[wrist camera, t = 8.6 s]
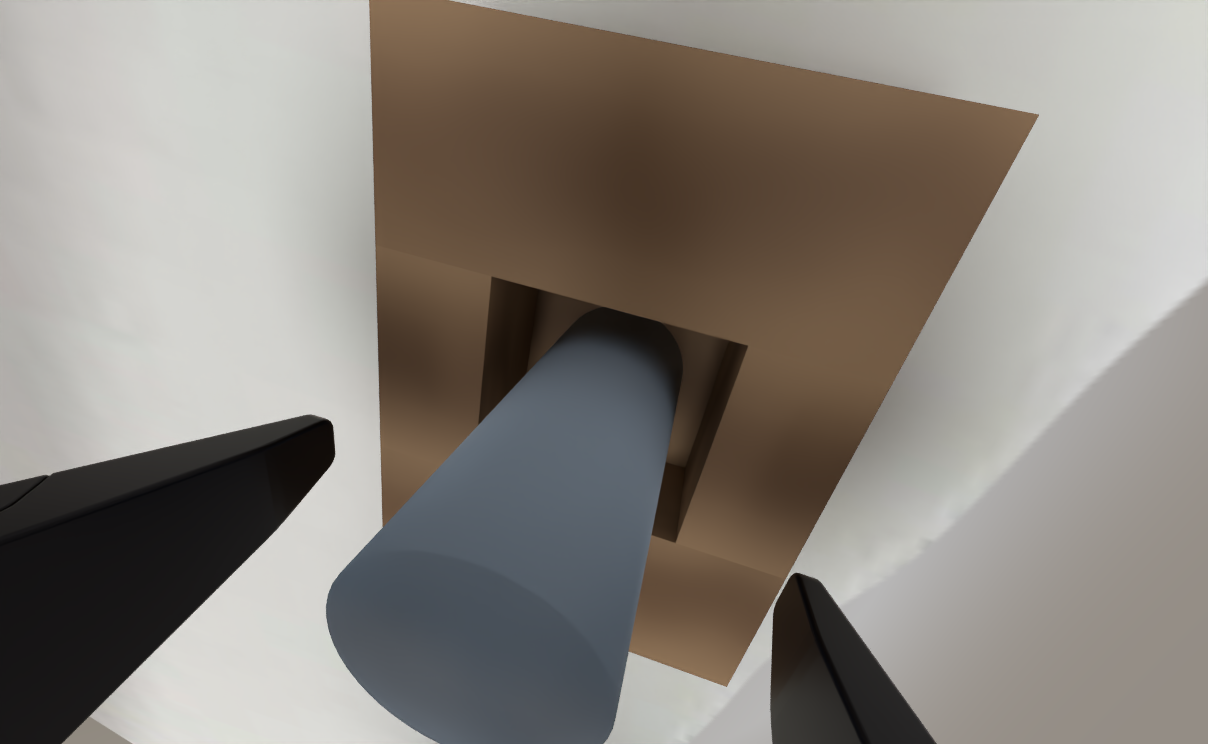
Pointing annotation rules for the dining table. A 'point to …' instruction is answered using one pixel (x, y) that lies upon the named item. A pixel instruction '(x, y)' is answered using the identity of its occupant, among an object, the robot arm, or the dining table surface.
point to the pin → (523, 551)
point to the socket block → (664, 267)
